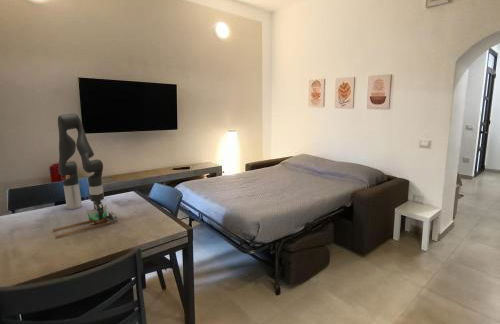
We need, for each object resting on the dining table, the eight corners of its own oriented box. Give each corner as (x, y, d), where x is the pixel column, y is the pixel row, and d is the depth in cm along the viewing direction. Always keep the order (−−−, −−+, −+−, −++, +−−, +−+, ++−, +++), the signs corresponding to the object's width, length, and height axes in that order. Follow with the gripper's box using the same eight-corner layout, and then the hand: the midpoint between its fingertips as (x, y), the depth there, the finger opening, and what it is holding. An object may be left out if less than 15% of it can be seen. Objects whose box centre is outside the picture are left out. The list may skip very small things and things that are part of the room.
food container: (92, 227, 169) (89, 211, 168) (88, 225, 173) (85, 210, 172) (113, 220, 179) (110, 205, 177) (108, 219, 183) (105, 204, 181)
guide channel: (53, 231, 166) (51, 225, 165) (112, 216, 187) (111, 211, 186) (55, 238, 157) (54, 231, 157) (117, 222, 178) (116, 216, 177)
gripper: (86, 190, 175) (90, 215, 179) (92, 196, 165) (95, 223, 168) (100, 188, 180) (103, 212, 184) (106, 193, 170) (109, 219, 173)
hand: (99, 217), depth 176 cm, fingers open, 6 cm apart
